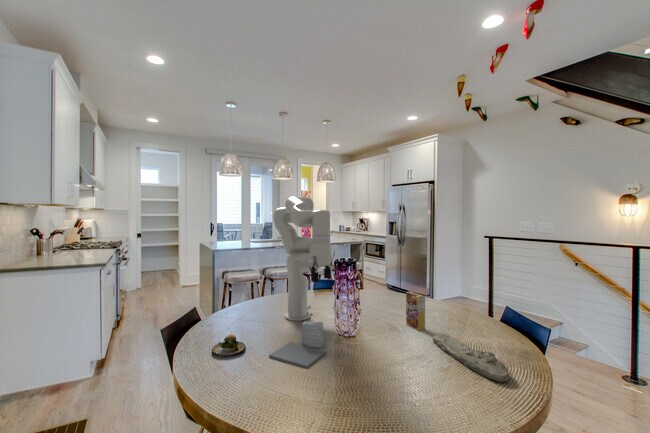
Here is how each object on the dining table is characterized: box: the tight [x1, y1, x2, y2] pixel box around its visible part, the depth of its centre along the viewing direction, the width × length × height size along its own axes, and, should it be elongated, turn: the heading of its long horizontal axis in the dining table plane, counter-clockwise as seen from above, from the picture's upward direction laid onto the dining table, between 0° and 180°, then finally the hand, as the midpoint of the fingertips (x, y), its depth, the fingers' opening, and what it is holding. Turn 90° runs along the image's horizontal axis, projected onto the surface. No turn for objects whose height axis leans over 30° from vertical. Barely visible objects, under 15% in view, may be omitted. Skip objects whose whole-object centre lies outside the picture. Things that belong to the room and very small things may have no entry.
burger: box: [211, 328, 246, 356], centre depth 116 cm, size 12×12×8 cm
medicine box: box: [301, 320, 324, 349], centre depth 122 cm, size 8×4×9 cm, turn 84°
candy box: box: [405, 290, 426, 331], centre depth 143 cm, size 9×4×15 cm, turn 23°
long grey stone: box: [432, 333, 511, 383], centre depth 112 cm, size 35×5×10 cm
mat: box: [268, 341, 327, 369], centre depth 113 cm, size 13×16×1 cm
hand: (321, 280), depth 131 cm, fingers open, 9 cm apart
